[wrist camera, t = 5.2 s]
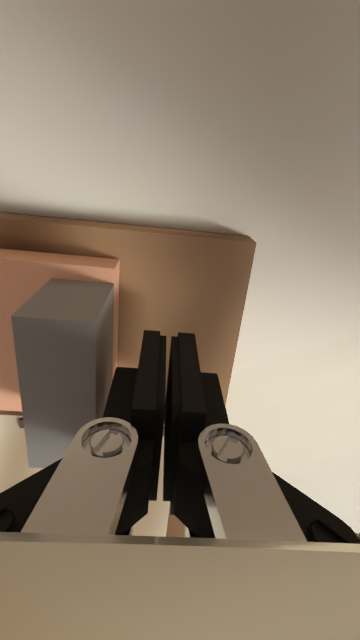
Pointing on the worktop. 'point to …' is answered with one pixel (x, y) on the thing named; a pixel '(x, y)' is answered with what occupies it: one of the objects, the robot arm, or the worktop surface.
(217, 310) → the pad
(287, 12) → the worktop surface
